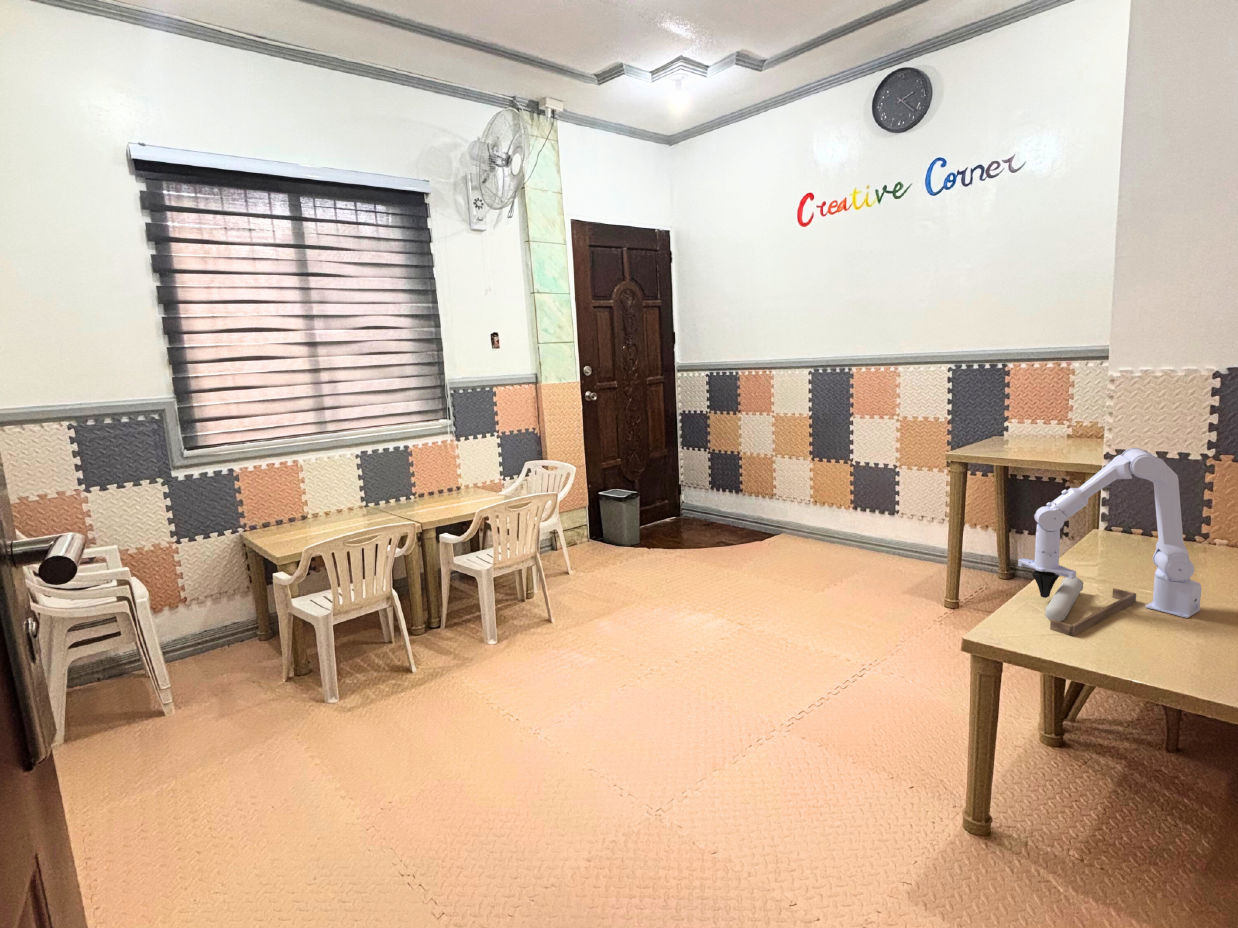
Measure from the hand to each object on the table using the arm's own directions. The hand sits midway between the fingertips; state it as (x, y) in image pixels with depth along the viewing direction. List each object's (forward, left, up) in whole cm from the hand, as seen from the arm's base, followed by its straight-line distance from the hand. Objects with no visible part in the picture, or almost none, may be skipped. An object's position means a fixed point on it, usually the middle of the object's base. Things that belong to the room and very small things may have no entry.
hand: (1045, 596), depth 197 cm
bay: (-13, 0, -1) cm, 13 cm away
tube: (-5, 0, -2) cm, 5 cm away
